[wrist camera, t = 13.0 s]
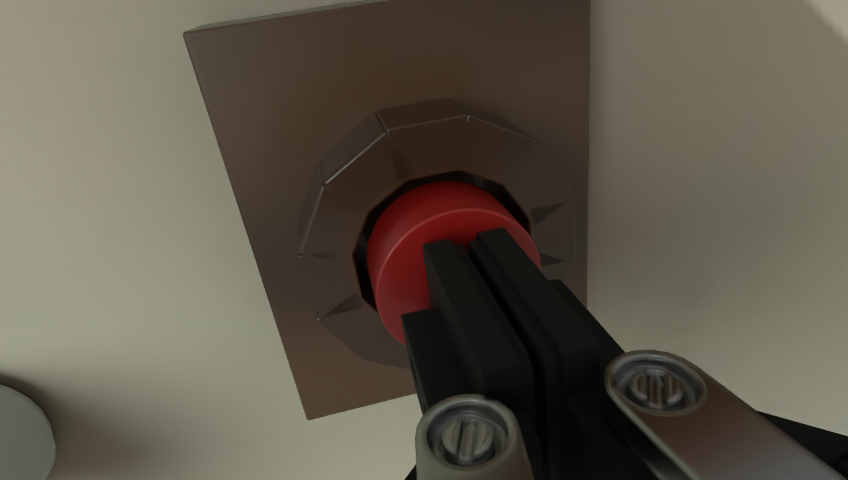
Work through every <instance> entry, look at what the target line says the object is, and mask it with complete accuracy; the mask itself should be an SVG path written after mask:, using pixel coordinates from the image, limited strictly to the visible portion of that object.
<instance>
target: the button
mask: <svg viewBox="0 0 848 480" xmlns="http://www.w3.org/2000/svg"><path fill="white" fill-rule="evenodd" d="M501 227H504V228H505V229H506V230H507V231H508V233H509V234H510V235H511V236H512V237H513V239H514V240H515V241H516V242H517V243H518V245H519V246H520V247H521V248H522V249H523V251H524V252H525V253H526V254H527V255H528V257H529V258H530V259H531V260H532V261H533V263H534V264H535V265H536V266H537V267H538V269H539V270H540V271H541V264H540V257H539V254H538V250H537V248H536V246H535V243H534V241H533V240H532V238H531V237H530V235H529V234H528V232H527V231H526V230H525V229H524V228H523V227H522V226H521V225H520V224H519V222H518V221H517V220H516V219H515V218H514V217H513V216H512V215H511V214H510V213H509V211H508V210H507V209H506V208H505V207H504V206H503V205H502V204H501V203H500V202H499V200H498V199H497V198H496V197H494V196H493V195H492V194H491V193H489V192H488V191H486V190H484V189H483V188H481V187H478V186H476V185H474V184H470V183H466V182H461V181H437V182H431V183H428V184H424V185H421V186H419V187H416V188H414V189H412V190H410V191H408V192H406V193H404V194H403V195H401V196H400V197H399V198H397V199H396V200H395V201H394V202H393V203H391V204H390V205H389V206H388V207H387V208H386V210H385V211H384V212H383V213H382V214H381V216H380V217H379V219H378V220H377V222H376V223H375V225H374V228H373V230H372V232H371V235H370V238H369V241H368V247H367V266H368V272H369V276H370V280H371V285H372V289H373V294H374V298H375V302H376V307H377V310H378V313H379V316H380V318H381V320H382V323H383V324H384V326H385V327H386V329H387V330H388V332H389V333H390V334H391V335H392V336H393V337H394V338H395V339H396V340H398V341H399V342H400V343H402V344H403V345H405V346H406V344H405V339H404V333H403V328H402V322H401V314H406V313H410V312H414V311H419V310H423V309H427V308H431V303H430V296H429V290H428V283H427V277H426V270H425V264H424V257H423V249H422V246H423V244H427V243H431V242H436V241H441V240H445V239H450V240H451V242H452V244H453V245H455V244H460V243H461V244H462V245H463V247H464V249H465V250H466V252H467V254H468V242H469V241H474V240H475V238H476V233H478V232H483V231H487V230H492V229H497V228H501Z"/></svg>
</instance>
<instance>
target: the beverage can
mask: <svg viewBox="0 0 848 480" xmlns="http://www.w3.org/2000/svg"><path fill="white" fill-rule="evenodd" d="M55 451H56V445H55V441H54V438H53V434H52V430H51V425H50V422H49V420H48V419H47V417H46V416H45V414H44V412H43V411H42V409H41V408H40V407H38V406H37V405H36V404H35V403H34V402H33V401H32V400H31V399H29V398H28V397H27V396H25V395H23V394H21V393H19V392H17V391H16V390H14V389H12V388H10V387H6V386H3V385H0V480H46V478H47V476H48V474H49V472H50V470H51V468H52V467H53V465H54V463H55Z"/></svg>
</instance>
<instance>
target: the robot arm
mask: <svg viewBox="0 0 848 480" xmlns="http://www.w3.org/2000/svg"><path fill="white" fill-rule="evenodd" d="M422 249H423V257H424V264H425V270H426V277H427V283H428V290H429V296H430V303H431V308H427V309H423V310H419V311H414V312H410V313H406V314H401V322H402V328H403V333H404V339H405V344H406V349H407V354H408V359H409V363H410V368H411V372H412V376H413V381H414V385H415V388H416V392H417V396H418V399H419V403H420V407H421V410H422V414H423V416H422V418H421V420H420V422H419V423H418V425H417V430H416V436H415V447H416V465H415V466H414V468H413V469H412V470H411V472H410V473H409V475H408V476H407V477H406V479H405V480H848V436H845V435H841V434H838V433H834V432H830V431H827V430H823V429H820V428H816V427H813V426H809V425H806V424H802V423H798V422H795V421H791V420H788V419H784V418H781V417H777V416H773V415H770V414H766V413H763V412H759V411H756V410H754V409H753V408H752V407H751V406H749V405H748V404H747V403H745V402H744V401H743V400H741V399H740V398H739V397H737V396H736V395H735V394H733V393H732V392H731V391H729V390H728V389H727V388H725V387H724V386H723V385H721V384H720V383H719V382H717V381H716V380H715V379H713V378H712V377H711V376H709V375H708V374H707V373H705V372H704V371H703V370H701V369H700V368H699V367H697V366H696V365H694V364H693V363H691V362H689V361H688V360H686V359H684V358H682V357H679V356H677V355H674V354H671V353H668V352H662V351H656V350H635V351H631V352H627V353H625V352H624V351H623V350H622V348H621V347H620V346H619V345H618V344H617V343H616V342H615V340H614V339H613V338H612V337H611V336H610V335H609V334H608V333H607V331H606V330H605V329H604V328H603V327H602V326H601V325H600V323H599V322H598V321H597V320H596V319H595V318H594V317H593V315H592V314H591V313H590V312H589V311H588V310H587V309H586V307H585V306H584V305H583V304H582V303H581V302H580V301H579V300H578V298H577V297H576V296H575V295H574V294H573V293H572V292H571V290H570V289H569V288H568V287H567V286H566V285H565V284H564V283H563V282H562V281H561V280H560V279H554V280H549V281H548V279H547V278H546V277H545V276H544V275H543V273H542V272H541V271H540V270H539V269H538V267H537V266H536V265H535V264H534V263H533V261H532V260H531V259H530V258H529V257H528V255H527V254H526V253H525V252H524V251H523V249H522V248H521V247H520V246H519V245H518V243H517V242H516V241H515V240H514V239H513V237H512V236H511V235H510V234H509V233H508V231H507V230H506V229H505V228H504V227H501V228H497V229H492V230H487V231H483V232H478V233H476V238H475V240H474V241H469V242H468V254H467V252H466V250H465V249H464V247H463V245H462V244H461V243H460V244H455V245H453V244H452V242H451V240H450V239H445V240H441V241H436V242H431V243H427V244H423V246H422Z"/></svg>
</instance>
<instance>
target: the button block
mask: <svg viewBox="0 0 848 480" xmlns="http://www.w3.org/2000/svg"><path fill="white" fill-rule="evenodd" d="M183 37H184V40H185V44H186V47H187V50H188V53H189V56H190V59H191V62H192V65H193V68H194V71H195V74H196V78H197V81H198V84H199V87H200V90H201V93H202V96H203V99H204V102H205V105H206V108H207V112H208V115H209V118H210V121H211V124H212V127H213V130H214V133H215V136H216V139H217V142H218V146H219V149H220V152H221V155H222V158H223V161H224V164H225V167H226V170H227V173H228V177H229V180H230V183H231V186H232V189H233V192H234V195H235V198H236V201H237V204H238V207H239V211H240V214H241V217H242V220H243V223H244V226H245V229H246V232H247V235H248V238H249V241H250V245H251V248H252V251H253V254H254V257H255V260H256V263H257V266H258V269H259V272H260V276H261V279H262V282H263V285H264V288H265V291H266V294H267V297H268V300H269V303H270V306H271V310H272V313H273V316H274V319H275V322H276V325H277V328H278V331H279V334H280V337H281V340H282V344H283V347H284V350H285V353H286V356H287V359H288V362H289V365H290V368H291V371H292V375H293V378H294V381H295V384H296V387H297V390H298V393H299V396H300V399H301V402H302V405H303V409H304V412H305V415H306V418H307V420H312V419H316V418H320V417H324V416H328V415H332V414H336V413H340V412H344V411H348V410H352V409H356V408H360V407H364V406H368V405H372V404H376V403H380V402H383V401H387V400H391V399H395V398H399V397H403V396H407V395H411V394H415V393H417V392H416V388H415V385H414V381H413V376H412V372H411V368H410V363H409V359H408V354H407V349H406V346H405V345H403V344H402V343H400V342H399V341H398V340H396V339H395V338H394V337H393V336H392V335H391V334H390V333H389V332H388V330H387V329H386V327H385V326H384V324H383V323H382V320H381V318H380V316H379V313H378V310H377V307H376V302H375V298H374V294H373V289H372V285H371V280H370V276H369V272H368V266H367V247H368V241H369V238H370V235H371V232H372V230H373V228H374V225H375V223H376V222H377V220H378V219H379V217H380V216H381V214H382V213H383V212H384V211H385V210H386V208H387V207H388V206H389V205H390V204H391V203H393V202H394V201H395V200H396V199H397V198H399V197H400V196H401V195H403V194H404V193H406V192H408V191H410V190H412V189H414V188H416V187H419V186H421V185H424V184H428V183H431V182H437V181H461V182H466V183H470V184H474V185H476V186H478V187H481V188H483V189H484V190H486V191H488V192H489V193H491V194H492V195H493V196H494V197H496V198H497V199H498V200H499V202H500V203H501V204H502V205H503V206H504V207H505V208H506V209H507V210H508V211H509V213H510V214H511V215H512V216H513V217H514V218H515V219H516V220H517V221H518V222H519V224H520V225H521V226H522V227H523V228H524V229H525V230H526V231H527V232H528V234H529V235H530V237H531V238H532V240H533V241H534V243H535V246H536V248H537V250H538V254H539V257H540V264H541V272H542V273H543V275H544V276H545V277H546V278H547V279H548V281H549V280H554V279H560V280H561V281H562V282H563V283H564V284H565V285H566V286H567V287H568V288H569V289H570V290H571V292H572V293H573V294H574V295H575V296H576V297H577V298H578V300H579V301H580V302H581V303H582V304H583V305H584V306H585V307H586V309H587V240H588V158H589V76H590V0H362V1H356V2H349V3H343V4H336V5H330V6H323V7H317V8H310V9H304V10H298V11H291V12H285V13H278V14H272V15H265V16H259V17H252V18H246V19H240V20H233V21H227V22H220V23H214V24H207V25H202V26H199V27H196V28H194V29H191V30H188V31H186V32H184V33H183Z"/></svg>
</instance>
